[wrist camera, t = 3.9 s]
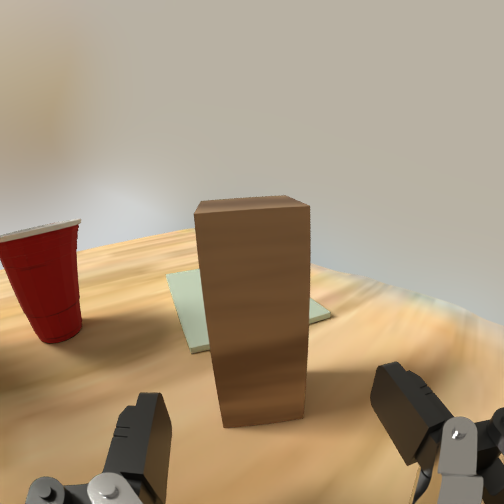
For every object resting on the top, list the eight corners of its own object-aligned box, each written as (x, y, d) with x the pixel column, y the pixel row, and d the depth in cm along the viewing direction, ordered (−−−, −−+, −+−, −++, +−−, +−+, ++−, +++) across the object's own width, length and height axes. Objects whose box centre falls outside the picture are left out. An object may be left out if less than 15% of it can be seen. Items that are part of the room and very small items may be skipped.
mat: (330, 317, 29) (330, 312, 29) (191, 353, 24) (190, 347, 24) (255, 263, 47) (255, 259, 47) (166, 278, 42) (165, 274, 42)
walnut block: (303, 418, 16) (310, 206, 13) (223, 427, 16) (193, 213, 12) (287, 371, 21) (285, 195, 18) (221, 379, 21) (200, 201, 17)
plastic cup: (103, 303, 34) (85, 209, 31) (103, 346, 25) (73, 221, 21) (31, 316, 30) (8, 225, 26) (11, 361, 20) (-27, 244, 17)
